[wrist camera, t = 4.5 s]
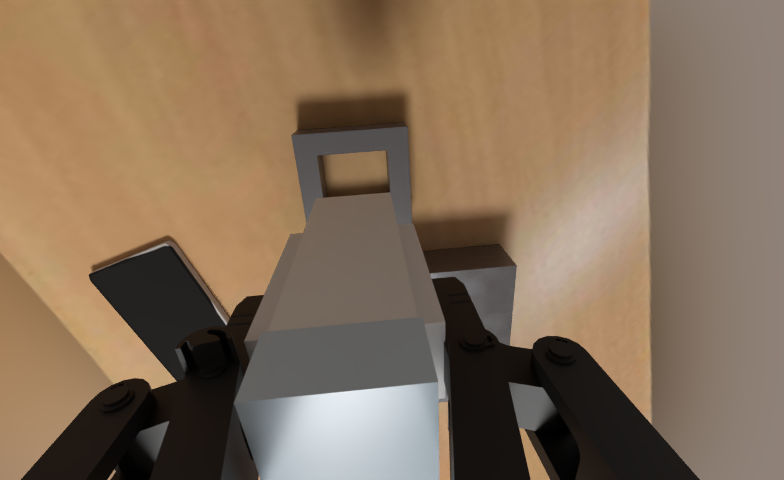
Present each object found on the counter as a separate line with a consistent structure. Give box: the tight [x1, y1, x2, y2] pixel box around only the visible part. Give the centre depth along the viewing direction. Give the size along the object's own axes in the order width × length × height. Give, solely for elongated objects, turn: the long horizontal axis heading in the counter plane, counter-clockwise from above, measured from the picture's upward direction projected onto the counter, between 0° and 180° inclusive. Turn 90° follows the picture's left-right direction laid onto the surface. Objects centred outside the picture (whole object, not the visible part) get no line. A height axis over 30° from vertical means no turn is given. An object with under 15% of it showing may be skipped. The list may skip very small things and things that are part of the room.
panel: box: [423, 244, 517, 402], centre depth 33 cm, size 14×16×4 cm
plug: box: [234, 192, 439, 480], centre depth 13 cm, size 4×4×12 cm
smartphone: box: [89, 240, 230, 381], centre depth 33 cm, size 8×1×15 cm
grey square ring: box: [292, 122, 412, 225], centre depth 28 cm, size 8×8×2 cm
